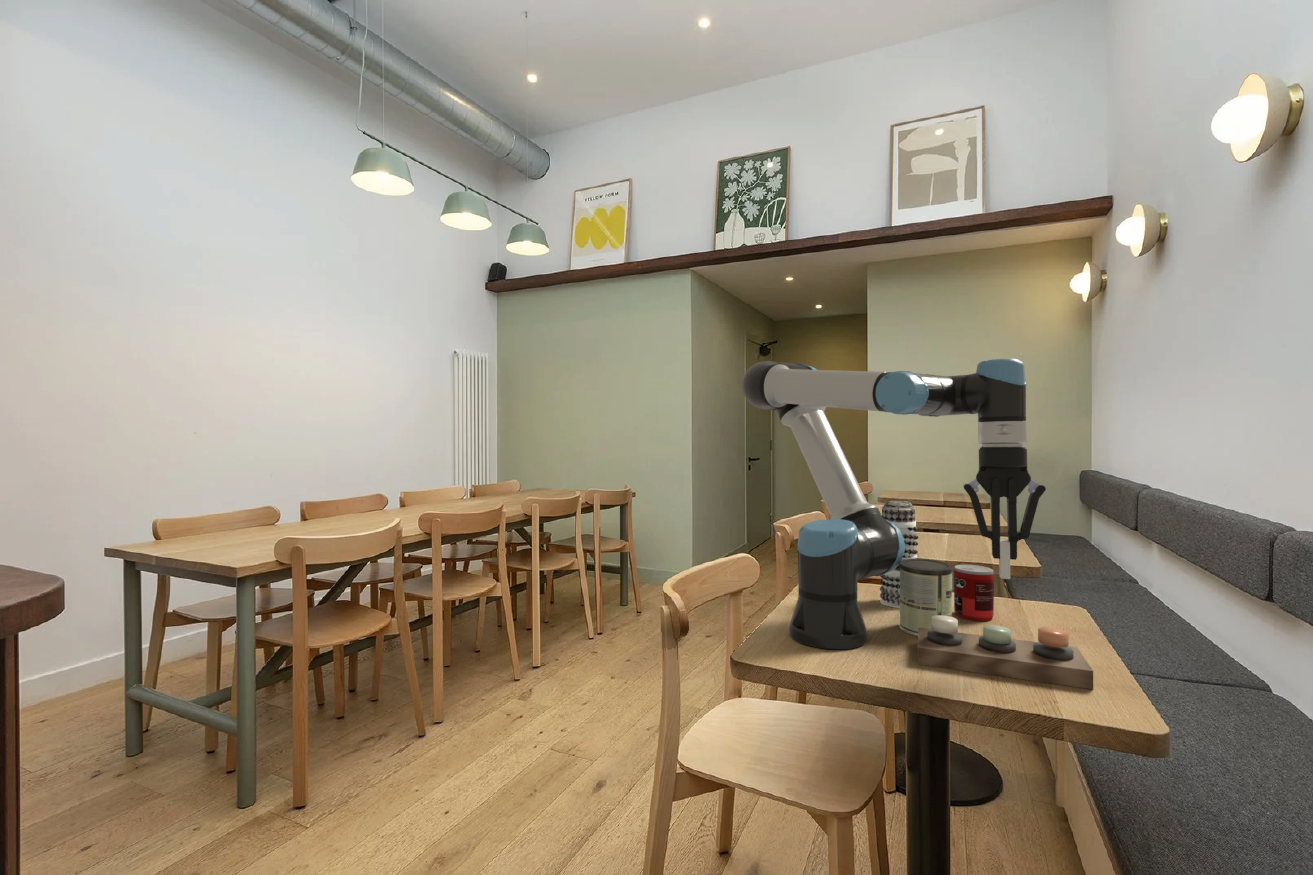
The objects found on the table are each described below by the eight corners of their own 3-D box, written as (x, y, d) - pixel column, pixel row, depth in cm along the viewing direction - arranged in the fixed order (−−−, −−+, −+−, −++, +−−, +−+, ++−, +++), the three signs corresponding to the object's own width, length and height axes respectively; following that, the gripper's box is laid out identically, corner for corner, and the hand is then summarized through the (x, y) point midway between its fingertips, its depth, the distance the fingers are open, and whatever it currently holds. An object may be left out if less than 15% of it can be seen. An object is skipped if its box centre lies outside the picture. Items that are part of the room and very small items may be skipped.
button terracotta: (1040, 645, 101) (1040, 633, 101) (1036, 637, 105) (1036, 625, 105) (1071, 648, 100) (1071, 636, 100) (1065, 640, 104) (1065, 629, 104)
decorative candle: (908, 598, 149) (908, 499, 149) (926, 608, 140) (925, 503, 140) (872, 598, 149) (872, 499, 149) (888, 609, 140) (887, 504, 140)
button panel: (917, 663, 106) (917, 641, 106) (918, 642, 117) (918, 622, 117) (1093, 689, 95) (1093, 664, 95) (1076, 663, 106) (1076, 640, 106)
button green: (984, 642, 105) (984, 630, 105) (982, 634, 109) (982, 623, 109) (1012, 645, 103) (1012, 634, 103) (1009, 637, 107) (1009, 626, 107)
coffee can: (899, 619, 132) (900, 556, 131) (951, 625, 127) (952, 561, 127) (897, 634, 122) (898, 566, 122) (953, 642, 118) (954, 572, 118)
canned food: (957, 609, 140) (956, 562, 140) (995, 615, 135) (995, 567, 135) (951, 617, 133) (951, 568, 133) (991, 623, 129) (991, 573, 129)
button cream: (931, 631, 109) (931, 620, 109) (931, 624, 113) (931, 614, 113) (958, 634, 107) (958, 623, 107) (957, 627, 111) (957, 617, 111)
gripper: (962, 446, 105) (964, 578, 105) (1049, 445, 100) (1051, 585, 99) (960, 445, 112) (962, 570, 112) (1041, 445, 107) (1044, 575, 106)
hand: (1004, 577), depth 106 cm, fingers closed
